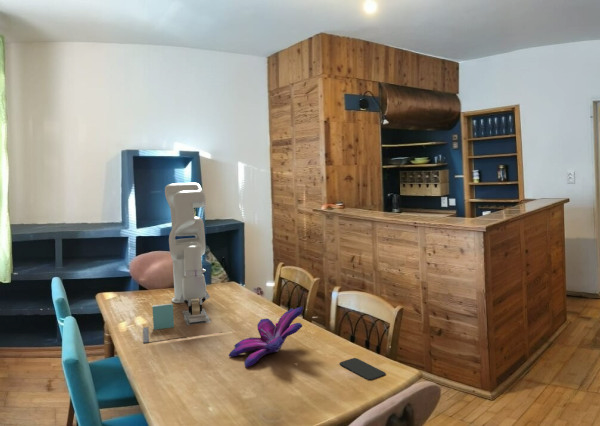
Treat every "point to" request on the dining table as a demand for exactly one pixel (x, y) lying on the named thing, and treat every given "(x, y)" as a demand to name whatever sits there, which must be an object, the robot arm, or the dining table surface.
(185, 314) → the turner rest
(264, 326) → the decorative flower
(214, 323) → the dining table surface
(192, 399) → the dining table surface
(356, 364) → the phone
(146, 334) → the mat
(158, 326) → the tile
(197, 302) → the tan bar with plate
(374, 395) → the dining table surface
